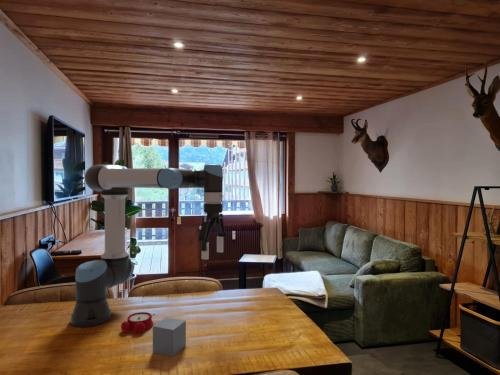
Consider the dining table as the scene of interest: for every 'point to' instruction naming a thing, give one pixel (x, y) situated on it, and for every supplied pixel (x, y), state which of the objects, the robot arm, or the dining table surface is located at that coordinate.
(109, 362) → the dining table surface
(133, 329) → the alarm clock
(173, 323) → the grey matte cube
